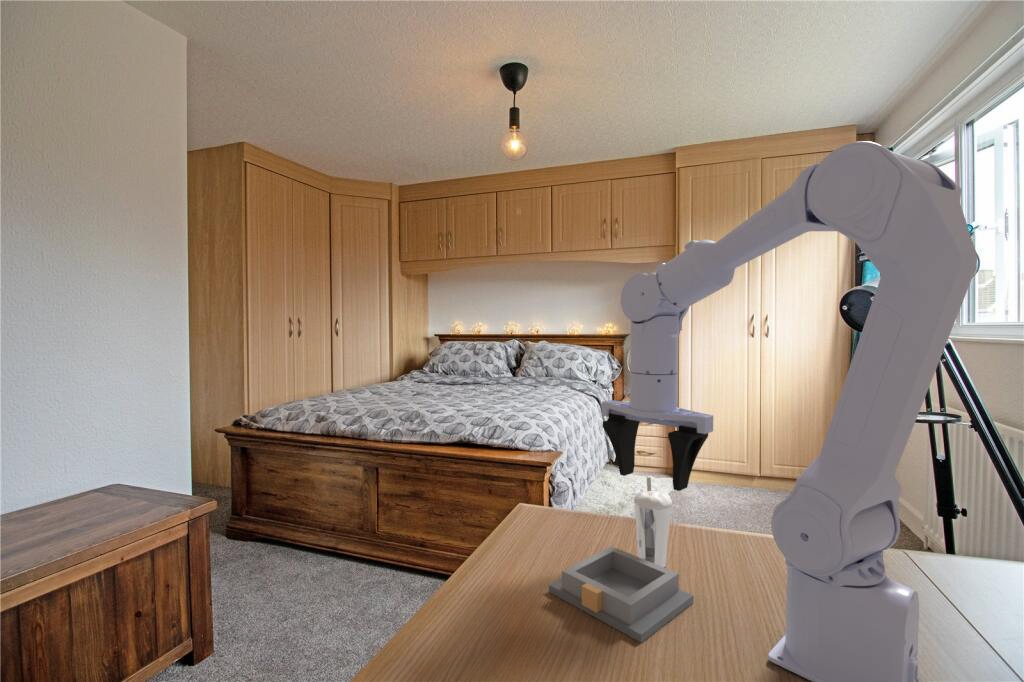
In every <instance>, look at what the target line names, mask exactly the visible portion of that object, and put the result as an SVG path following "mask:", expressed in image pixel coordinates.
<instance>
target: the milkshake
mask: <svg viewBox="0 0 1024 682" xmlns="http://www.w3.org/2000/svg"><path fill="white" fill-rule="evenodd" d="M646 488H647V490H643V491H640V492H638V493H637V494H636V495H635V496H634V498H633V504H634V515H635V524H636V525H635V526H636V541H637V557H639V558H642V559H644V560H647V561H649V562H652V563H654V564H656V565H659V566H661V567H664V568H666V566H667V558H668V557H667V556H668V554H667V553H668V545H669V544H668V543H669V533H670V525H671V524H670V522H671V513H672V506H673V501H672V499H671V497H670V496H669V494H667V493H666V492H661V491H658V490H655V491H653V490H652V483H651V477H646Z"/></svg>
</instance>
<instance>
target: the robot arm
mask: <svg viewBox="0 0 1024 682" xmlns="http://www.w3.org/2000/svg"><path fill="white" fill-rule="evenodd" d="M961 197H962V188H961V186H960V185H959V184H957V183H956V182H955V181H954V180H953V179H952V178H951V177H950V176H948V175H947V174H946V173H945V172H944V171H943V170H942V169H941V168H940V167H938V166H937V165H935V164H934V163H932V162H929V161H928V160H923V159H917V158H913V157H910V156H906V155H904V154H901V153H898V152H895V151H893V150H890V149H888V148H886V147H885V146H884V145H882V144H880V143H877V142H873V141H866V140H864V141H863V140H862V141H861V140H860V141H854V142H849V143H846V144H844V145H841V146H839V147H837V148H836V149H834V150H832V151H831V152H830V153H829V154H827V155H826V156H825V157H824V158H823V159H822V160H821V161H820V162H819V163H814V164H812V165H810V166H808V167H806V168H804V169H802V170H801V171H800V172H799V174H798V175H797V177H796V178H795V180H794V181H793V183H792V184H791V185H790V186H789V187H788V188H787V189H786V190H785V191H783V192H782V193H781V194H779V195H778V196H777V197H775V198H774V199H772V200H771V201H770V202H769V203H767V204H766V205H764V206H763V207H761V209H759V210H758V211H756V212H755V213H753V214H752V215H751V216H750V217H748V218H747V219H746V220H744V221H742V223H740V224H739V225H738V226H736V227H735V228H734V229H732V230H731V231H729V232H728V233H727V234H725V235H724V236H722V237H721V238H720V239H719V240H717V241H715V240H710V239H701V240H690V241H689V242H687V243H686V244H685V245H684V249H685V250H683V251H682V252H681V253H679V254H678V255H676V256H675V257H673V258H672V259H670V260H669V261H666V262H663V263H660V264H658V265H657V266H656V267H655V270H654V271H653V272H650V273H649V274H648V273H645V272H635V273H633V274H632V275H631V277H629V278H628V279H627V281H626V282H625V283H624V284H623V286H622V289H621V293H620V306H621V310H622V312H623V314H624V316H625V317H626V318H627V319H628V320H630V339H629V340H630V347H629V348H630V351H629V353H630V354H629V356H630V358H629V361H630V362H629V372H630V373H629V401H619V400H613V399H611V400H610V399H609V400H604V401H601V417H608V418H607V420H604V421H602V428H603V430H604V431H605V433H606V436H607V437H608V439H609V441H610V443H611V446H612V449H613V452H614V455H615V458H616V463H617V467H618V470H619V475H620V476H624V477H625V476H628V475H630V474H633V473H634V469H635V461H636V459H635V456H636V452H635V451H636V440H637V435H638V429H639V426H640V422H643V423H648V424H654V425H660V426H665V427H672V428H677V429H678V430H673V431H670V432H667V437H668V440H669V444H670V445H669V446H670V450H671V456H672V457H671V458H672V488H673V490H674V491H678V492H680V491H683V490H684V489H687V488H688V486H689V481H690V477H691V473H692V470H693V468H694V464H695V461H696V459H697V457H698V455H699V453H700V451H701V449H702V447H703V445H704V444H705V442H706V441H707V439H708V437H709V433H713V432H714V415H713V414H707V413H702V412H698V411H695V410H690V409H685V408H681V407H678V403H679V402H678V399H679V397H678V395H679V335H680V334H681V331H683V320H684V317H686V315H687V314H688V311H689V309H690V307H691V306H693V305H694V304H696V303H699V302H701V301H702V300H703V299H706V298H708V297H710V296H711V295H713V294H715V293H716V292H718V291H720V290H722V289H724V288H725V287H727V286H729V285H730V284H731V283H732V282H733V280H734V275H735V270H736V269H737V268H739V267H741V266H743V265H744V264H747V263H748V262H751V261H753V260H755V259H757V258H758V257H760V256H763V255H764V254H766V253H768V252H770V251H773V250H774V249H776V248H778V247H780V246H782V245H783V244H786V243H787V242H790V241H792V240H794V239H796V238H797V237H800V236H802V235H803V234H806V233H808V232H838V233H840V234H841V235H843V236H845V237H846V238H848V239H850V240H852V241H853V242H854V243H856V246H858V248H859V249H860V250H861V251H862V252H863V253H864V255H865V256H866V257H867V259H868V260H869V261H870V263H871V264H872V265H873V266H874V268H875V269H876V270H877V271H878V273H879V275H880V279H879V280H878V284H877V287H876V290H875V292H874V295H873V298H872V301H871V304H870V307H869V310H868V313H867V316H866V318H865V319H866V320H865V322H864V325H863V328H862V331H861V333H860V336H859V340H858V341H857V345H856V348H855V351H854V354H853V357H852V359H851V362H850V364H849V365H850V366H849V369H848V371H847V374H846V378H845V380H844V383H843V385H842V388H841V392H840V394H839V398H838V399H837V403H836V405H835V406H836V407H835V409H834V412H833V415H832V418H831V420H830V423H829V426H828V429H827V433H826V435H825V438H824V440H823V441H824V442H823V443H822V447H821V450H820V453H819V454H818V456H817V457H816V458H815V459H814V460H813V461H812V462H811V463H809V465H808V466H807V468H805V470H803V472H802V473H801V474H800V475H799V476H798V477H797V478H796V481H795V484H794V487H793V489H792V491H791V493H790V494H789V496H787V497H786V498H784V499H783V500H782V501H781V502H779V503H778V504H777V505H776V507H775V508H774V510H773V512H772V516H771V521H770V525H771V527H770V528H771V532H772V533H771V534H772V537H773V539H774V542H775V545H776V547H777V548H778V550H779V551H780V553H781V554H782V556H783V557H784V558H785V564H786V566H787V567H786V598H785V599H786V603H785V634H784V635H783V636H782V637H781V639H779V641H778V642H777V643H776V644H775V645H774V646H773V648H771V650H770V651H769V652H768V653H767V659H768V660H769V661H770V662H771V663H773V664H775V665H777V666H780V667H782V668H783V669H785V670H787V671H790V672H792V673H794V674H795V675H798V676H800V677H802V678H804V679H807V680H808V681H810V682H917V680H918V676H919V662H918V647H919V646H918V645H919V623H920V622H919V621H920V619H919V618H920V617H919V616H920V614H919V613H920V606H919V605H920V601H919V594H918V591H917V590H915V589H913V588H911V587H908V586H906V585H904V584H903V583H900V582H897V581H895V580H894V579H893V578H891V577H889V576H887V575H886V566H885V565H886V564H885V562H884V551H886V550H888V549H890V548H891V547H893V545H894V544H895V543H896V542H897V540H898V539H899V536H900V532H901V522H900V517H899V510H898V503H899V500H900V497H901V494H902V492H903V488H902V485H901V484H900V482H899V480H898V479H897V477H896V471H897V469H898V466H899V465H900V461H901V458H902V457H903V454H904V451H905V449H906V446H907V444H908V441H909V438H910V437H911V433H912V432H913V429H914V426H915V424H916V421H917V419H918V416H919V413H920V411H921V409H922V406H923V403H924V401H925V398H926V396H927V393H928V391H929V388H930V386H931V384H932V380H933V378H934V375H935V373H936V371H937V368H938V366H939V363H940V361H941V358H942V355H943V353H944V350H945V347H946V345H947V343H948V340H949V338H950V335H951V332H952V329H953V328H954V325H955V323H956V321H957V317H958V315H959V312H960V310H961V307H962V305H963V303H964V300H965V297H966V294H967V292H968V290H969V287H970V285H971V282H972V280H973V277H974V274H975V271H976V270H977V263H978V254H977V251H976V247H975V244H974V242H973V239H972V236H971V235H972V234H971V232H970V230H969V227H968V224H967V221H966V220H967V219H966V218H965V217H966V216H965V215H964V211H963V208H962V205H961Z"/></svg>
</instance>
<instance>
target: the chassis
mask: <svg viewBox="0 0 1024 682" xmlns="http://www.w3.org/2000/svg"><path fill="white" fill-rule="evenodd" d="M679 575H680V574H679V572H676V571H673V570H670V569H668V568H666V567H661V566H659V565H656V564H654V563H652V562H649V561H647V560H644V559H642V558H639V557H638V555H634V554H632V553H629V552H627V551H624V550H622V549H619V548H618V547H614V546H612V545H610V546H608V547H607V548H604V549H603V550H601V551H598V552H597V553H595V554H592V555H591V556H588V557H587V558H585V559H582V560H580V561H579V562H577V563H574V564H573V565H571V566H569V567H567V568H565V569H563V570H561V578H560V579H558V580H556V581H554V582H552V583H549V584H548V592H549V593H550V594H552V595H554V596H556V597H558V598H559V599H561V600H563V601H564V602H566V603H568V604H570V605H572V606H574V607H575V608H578V609H579V610H581V611H582V612H585V613H587V614H588V615H589V616H592V617H594V618H595V619H597V620H600V621H601V622H603V623H604V624H606V625H609V626H610V627H611V628H614V629H616V630H617V631H619V632H620V633H623V634H624V635H626V636H628V637H630V638H632V639H634V640H635V641H637V642H639V643H640V644H642V643H644V641H645V640H646V639H648V638H649V637H651V636H652V635H653V634H655V633H656V632H657V631H659V630H660V629H662V627H664V626H665V625H667V624H668V623H669V622H670V621H671V620H673V619H674V618H675V617H677V616H679V614H681V613H682V612H683V611H684V610H686V609H688V607H690V606H691V605H693V603H694V600H695V597H694V594H691V593H689V592H687V591H684V590H682V589H680V588H679V587H680V584H679V580H680V579H679V578H680V577H679Z"/></svg>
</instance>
